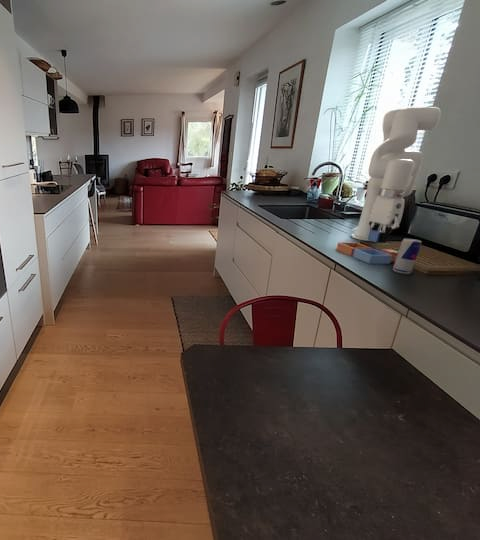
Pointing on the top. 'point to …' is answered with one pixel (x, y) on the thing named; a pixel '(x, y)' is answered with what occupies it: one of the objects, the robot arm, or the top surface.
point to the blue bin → (372, 256)
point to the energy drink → (407, 256)
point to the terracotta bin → (350, 247)
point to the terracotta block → (391, 253)
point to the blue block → (374, 235)
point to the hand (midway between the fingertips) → (376, 240)
